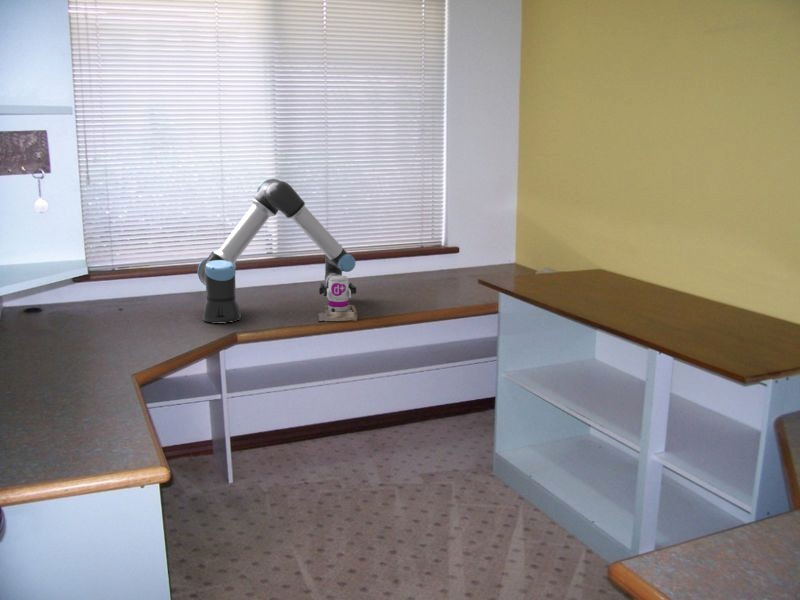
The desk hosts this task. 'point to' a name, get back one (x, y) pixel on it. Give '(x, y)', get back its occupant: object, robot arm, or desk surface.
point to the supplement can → (338, 293)
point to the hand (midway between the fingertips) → (339, 294)
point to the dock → (342, 314)
